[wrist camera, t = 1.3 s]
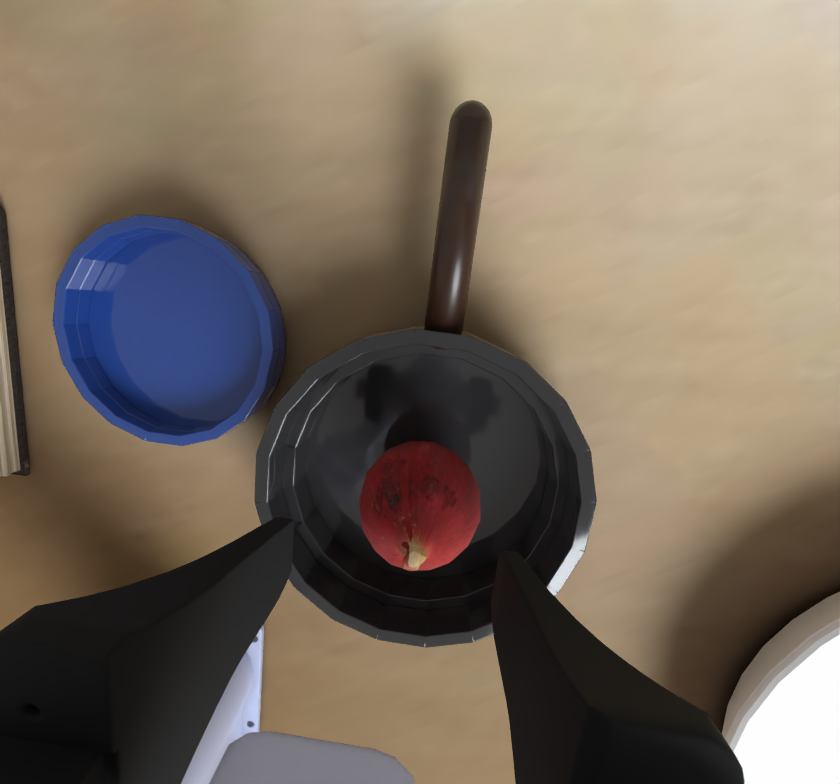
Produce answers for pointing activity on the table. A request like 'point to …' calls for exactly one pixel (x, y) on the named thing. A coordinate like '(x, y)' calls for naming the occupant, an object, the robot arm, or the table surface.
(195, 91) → the table surface
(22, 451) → the hardcover book
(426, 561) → the onion
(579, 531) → the frying pan
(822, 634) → the pan
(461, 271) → the pan handle
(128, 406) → the saucer
